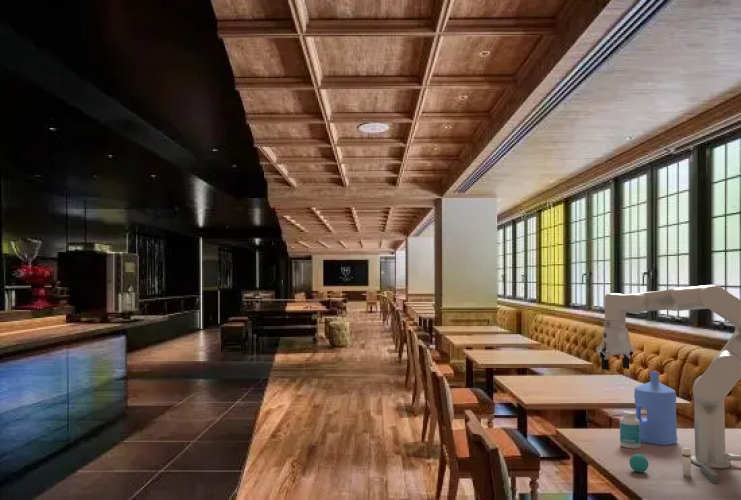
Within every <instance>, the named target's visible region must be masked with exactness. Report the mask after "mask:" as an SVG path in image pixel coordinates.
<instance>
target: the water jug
mask: <svg viewBox="0 0 741 500" xmlns="http://www.w3.org/2000/svg"><path fill="white" fill-rule="evenodd" d="M649 373H650V375H649V377H650V379H649V380H650V381H649V382H646V383H642V384H640V385H639V386H636V387H635V388H634V394H633V395H634V397H633V398H634V405H635V413H636V418H637V419H639V421H640V443H643V444H648V445H655V446H672V445H675V444H677V443H678V436H677V434H678V432H677V428H678V427H677V421H678V419H677V418H678V417H677V393H676V390H674V389H673V388H670V387H669V386H667V385H665V384H663V383H661V382H660V380H659V378H660V377H659V371H655V370H654V371H650V372H649ZM641 408H643V409H645V410H646V418H642V411H641Z"/></svg>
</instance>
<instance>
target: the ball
mask: <svg viewBox="0 0 741 500" xmlns="http://www.w3.org/2000/svg"><path fill="white" fill-rule="evenodd" d="M629 465H630V468H631V469H632V470H633V471H634V472H635V473H643V472H644V473H645V472H646V471H647V470H648V468H649V461H648V459H647V457H646V456H644V455H643V454H640V453H635V454H632V455H631V456H630V459H629Z"/></svg>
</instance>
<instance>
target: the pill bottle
mask: <svg viewBox="0 0 741 500" xmlns="http://www.w3.org/2000/svg"><path fill="white" fill-rule="evenodd" d="M622 415H623V416H622V417H620V418H619V444H620V446H621V447H622V448H624V449H629V450H630V449H631V450H633V449H634V450H636V449H637V450H638V449H640V448H641V441H640V421H639V419H637V418H636V411H631V410H624V411H623V413H622Z"/></svg>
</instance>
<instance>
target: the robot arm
mask: <svg viewBox="0 0 741 500" xmlns="http://www.w3.org/2000/svg"><path fill="white" fill-rule="evenodd" d="M707 309H709V310H710V311H711V312H712V313H715V314H716V315H717V316H719V317H720V318H722V319H724V320H725V321H727V322H728V323H730V324H731V325H733V326H735V329H734V332H733V333H732V335H731V336H730V338H729V339H728V340H727V342H726V343H725V345H724V346H723V347H722V348H721V350H720V351H719V352H718V353H717V354H716V355H715V356H714V357H713V359H712V362H711V363H710V364H709V366H708V367H707V368H706V370H705V371H704V372H703V374H701V375H700V376H697V378H696V379H695V380H694V382H693V385H692V394H693V411H694V412H693V413H694V415H693V416H694V418H693V420H694V449H695V450H694V453H695V454H694V455H691V457H690V463H691V462H692V464H695V465H697V466H700V467H701V464H707V465H708V466H709V467H710V468H711V469H728V468H730V467H731V466H732V463H731V461H734V462H735V461H736V462H741V455H740V454H739V455H737V454H735V453H728V452H727V451H726V430H725V429H726V426H725V425H726V423H725V422H726V421H725V420H726V419H725V417H726V416H725V399H726V397H727V395H728V394H729V393H730V392H731V391H732V389H733V388H734V387H735V386H736V384H737V383H738V382H739V381H740V379H741V299H740V298H738V297H737V296H735V295H733V294H732V293H730V292H729V291H727V290H726V289H724V288H723V287H722V286H720V285H718V284H705V285H697V286H695V285H694V286H686V287H684V286H683V287H674V288H670V289H669V288H668V289H666V290H663V289H662V290H656V291H646V292H645V291H644V292H634V293H628V294H624V293H617V292H615V293H614V292H613V293H610V292H609V293H606V294H605V296H604V322H603V323H602V324H603V326H604V328H603V331H602V338H601V344H600V345H599V346H597V347H596V348H595V351H596V352H597V355H598V356H599V358H600V360H601V369H602V370H605V371H609V367H610V366H609V365H610V363H609V359H608V358H609V357H610V356H611V355H612V356H613V355H615V356H617V355H619V356H621V355H622V358H621V361H622V362H621V363H622V364H621V367H622V369H624V370H625V369H626V370H629V369H630V359H632V356H633V354H634V350H635V349H636V348H635V346H634V345H632V344H631V341H630V334H629V330H628V328H627V327H626V323H627V321H626V318H627V317H626V315H627V314H626V313H631V314H639V313H643V312H655V311H673V312H682V311H692V310H695V311H696V310H707Z"/></svg>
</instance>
